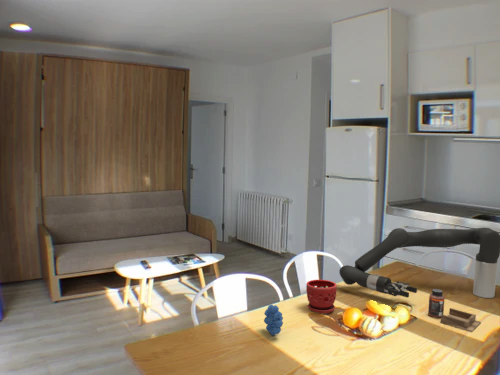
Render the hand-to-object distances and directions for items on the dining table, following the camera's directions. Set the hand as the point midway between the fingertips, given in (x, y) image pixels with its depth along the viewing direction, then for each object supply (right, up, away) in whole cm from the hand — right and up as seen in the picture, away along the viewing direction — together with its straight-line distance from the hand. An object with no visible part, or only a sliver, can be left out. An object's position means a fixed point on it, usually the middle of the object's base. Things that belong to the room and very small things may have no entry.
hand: (412, 292), depth 183 cm
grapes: (-63, -9, -27) cm, 69 cm away
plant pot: (-41, -7, -2) cm, 42 cm away
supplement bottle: (+7, -8, -6) cm, 13 cm away
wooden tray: (+15, -9, -13) cm, 22 cm away
